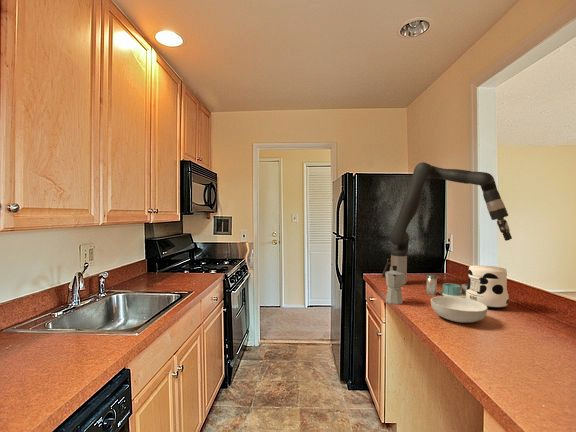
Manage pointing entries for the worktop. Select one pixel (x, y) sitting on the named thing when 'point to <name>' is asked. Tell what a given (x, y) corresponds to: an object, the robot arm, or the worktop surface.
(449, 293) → the fitting plate
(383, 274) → the door stopper
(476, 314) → the serving bowl
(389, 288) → the coffee maker
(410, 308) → the worktop surface
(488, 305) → the milk container
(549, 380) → the worktop surface
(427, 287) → the salt shaker
